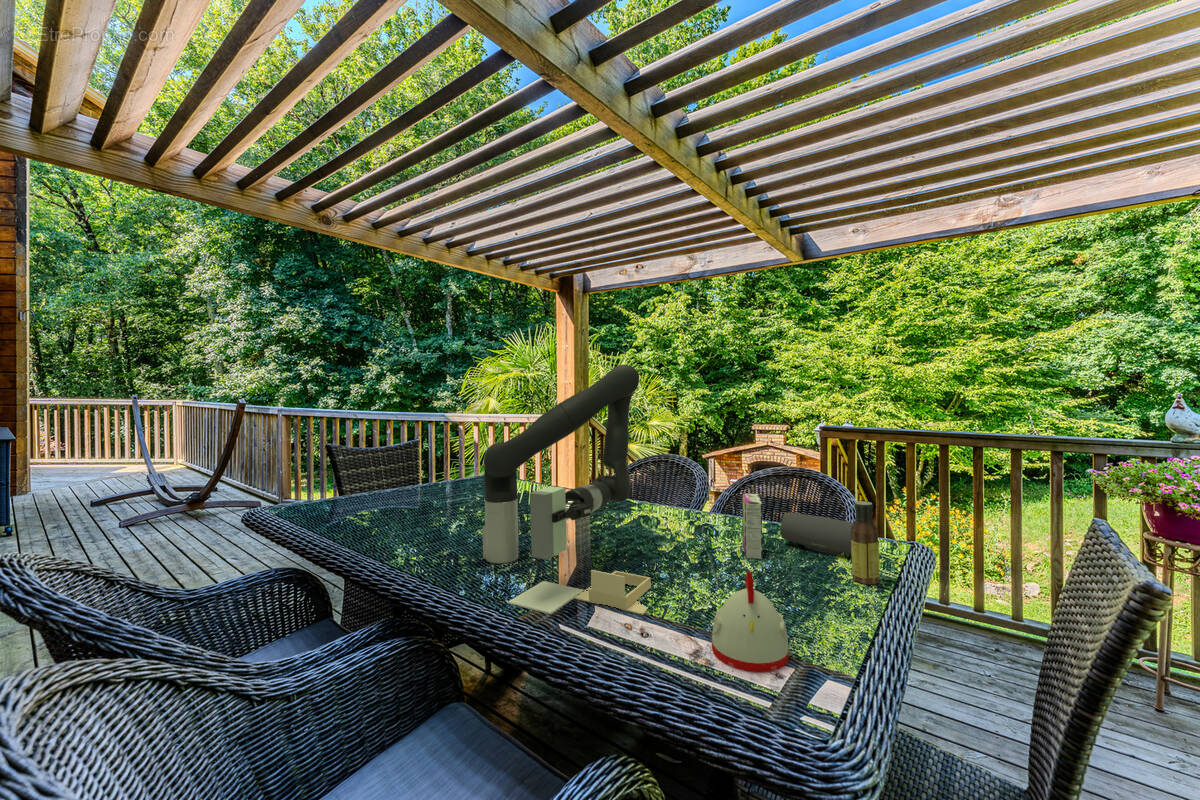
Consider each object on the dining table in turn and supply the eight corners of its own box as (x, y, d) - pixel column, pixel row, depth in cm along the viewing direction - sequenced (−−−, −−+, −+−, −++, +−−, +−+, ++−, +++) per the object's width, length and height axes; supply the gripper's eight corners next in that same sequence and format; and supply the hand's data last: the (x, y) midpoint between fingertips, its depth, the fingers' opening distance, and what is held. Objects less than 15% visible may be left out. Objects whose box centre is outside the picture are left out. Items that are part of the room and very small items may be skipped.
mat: (507, 603, 122) (507, 601, 122) (543, 582, 134) (543, 580, 134) (550, 614, 116) (550, 612, 116) (583, 591, 128) (583, 589, 128)
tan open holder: (574, 598, 124) (573, 567, 123) (608, 574, 138) (608, 546, 138) (642, 614, 115) (642, 580, 115) (671, 587, 130) (671, 557, 129)
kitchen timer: (711, 668, 94) (711, 585, 93) (711, 631, 107) (711, 558, 107) (794, 676, 91) (794, 590, 90) (783, 637, 105) (783, 563, 104)
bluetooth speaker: (869, 555, 152) (870, 520, 151) (859, 564, 145) (859, 528, 144) (792, 539, 167) (792, 508, 167) (779, 546, 160) (779, 514, 160)
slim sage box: (531, 556, 123) (529, 493, 122) (551, 546, 130) (549, 486, 129) (547, 559, 121) (545, 494, 120) (566, 549, 128) (565, 487, 127)
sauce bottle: (877, 577, 134) (878, 500, 134) (881, 587, 129) (882, 506, 128) (849, 574, 137) (849, 499, 136) (852, 584, 131) (852, 504, 130)
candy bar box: (741, 546, 160) (741, 493, 160) (759, 547, 159) (759, 493, 159) (744, 559, 149) (744, 501, 149) (762, 560, 148) (762, 502, 148)
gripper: (559, 484, 141) (519, 498, 127) (605, 489, 134) (569, 504, 120) (559, 512, 142) (520, 529, 127) (606, 518, 135) (570, 537, 120)
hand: (544, 517), depth 123 cm, fingers closed on slim sage box, 4 cm apart
